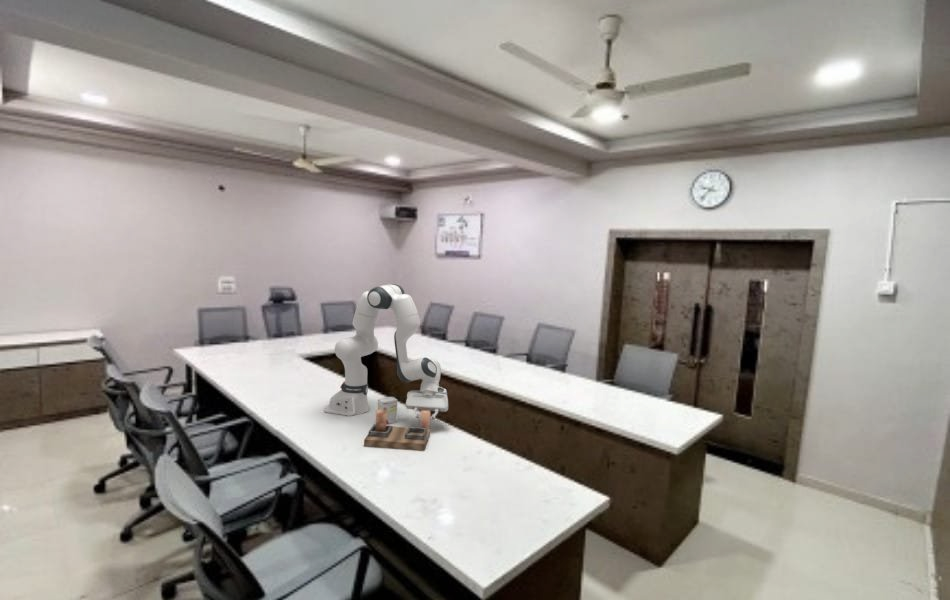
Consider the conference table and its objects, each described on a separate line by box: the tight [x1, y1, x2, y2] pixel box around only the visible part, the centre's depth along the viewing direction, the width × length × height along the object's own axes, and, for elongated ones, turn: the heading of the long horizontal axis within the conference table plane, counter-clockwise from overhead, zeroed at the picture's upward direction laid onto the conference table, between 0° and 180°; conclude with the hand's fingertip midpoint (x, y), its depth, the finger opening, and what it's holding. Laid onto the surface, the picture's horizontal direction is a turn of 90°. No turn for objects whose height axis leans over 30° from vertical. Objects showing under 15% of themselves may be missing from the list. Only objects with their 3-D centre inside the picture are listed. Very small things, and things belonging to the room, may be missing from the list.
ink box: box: [376, 396, 398, 425], centre depth 220 cm, size 9×5×12 cm, turn 127°
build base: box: [363, 409, 431, 452], centre depth 200 cm, size 26×16×13 cm, turn 87°
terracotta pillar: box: [419, 410, 432, 430], centre depth 212 cm, size 5×5×10 cm
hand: (425, 418), depth 211 cm, fingers open, 6 cm apart
